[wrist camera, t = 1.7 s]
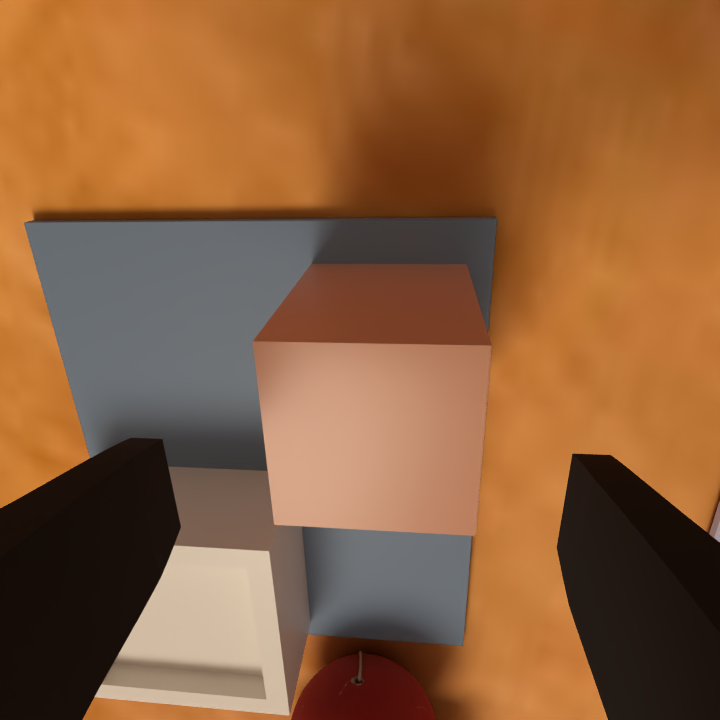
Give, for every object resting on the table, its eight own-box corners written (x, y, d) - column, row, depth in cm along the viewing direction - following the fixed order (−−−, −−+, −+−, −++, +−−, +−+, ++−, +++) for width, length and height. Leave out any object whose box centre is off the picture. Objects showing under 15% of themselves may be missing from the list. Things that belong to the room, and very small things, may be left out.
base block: (296, 472, 19) (268, 551, 15) (310, 621, 22) (289, 715, 18) (97, 463, 20) (28, 536, 16) (138, 608, 23) (87, 696, 19)
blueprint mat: (495, 216, 15) (497, 219, 15) (462, 637, 22) (463, 646, 22) (32, 220, 16) (24, 222, 16) (140, 613, 23) (135, 620, 23)
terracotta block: (466, 263, 15) (492, 345, 10) (458, 402, 17) (475, 535, 12) (311, 263, 16) (252, 341, 10) (319, 398, 17) (274, 524, 12)
